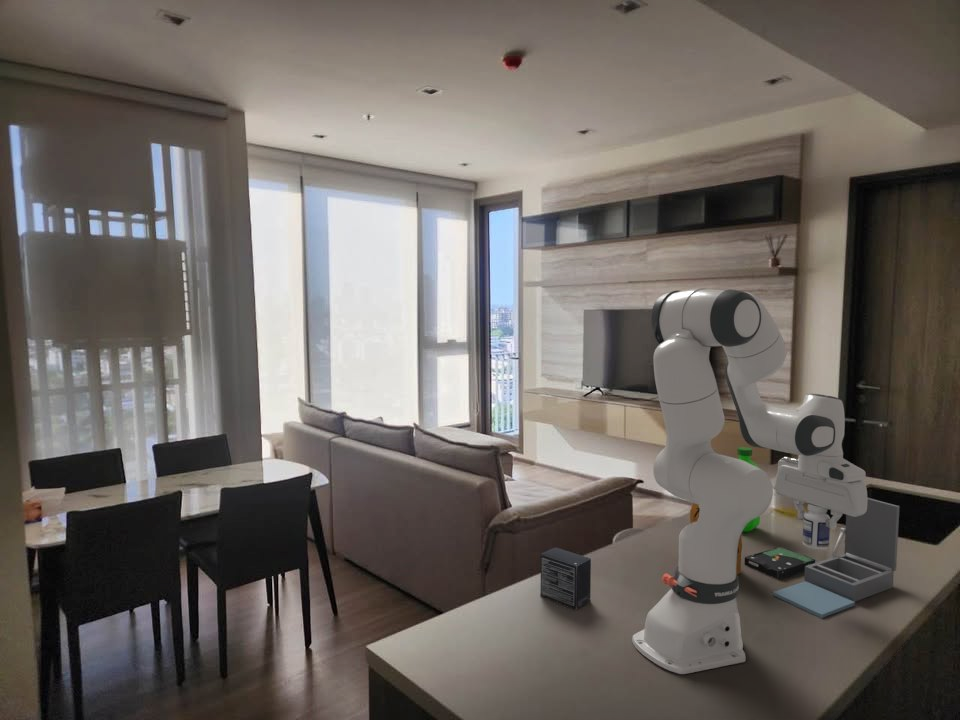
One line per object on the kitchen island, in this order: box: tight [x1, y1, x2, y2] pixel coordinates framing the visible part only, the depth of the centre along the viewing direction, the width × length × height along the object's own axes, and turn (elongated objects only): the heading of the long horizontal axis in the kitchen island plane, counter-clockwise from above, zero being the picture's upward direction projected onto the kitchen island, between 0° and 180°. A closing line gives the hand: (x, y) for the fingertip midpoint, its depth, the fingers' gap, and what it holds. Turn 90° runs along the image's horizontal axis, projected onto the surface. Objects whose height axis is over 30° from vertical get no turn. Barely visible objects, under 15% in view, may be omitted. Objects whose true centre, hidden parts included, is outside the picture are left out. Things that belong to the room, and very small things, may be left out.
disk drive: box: [744, 547, 816, 580], centre depth 159 cm, size 10×3×15 cm
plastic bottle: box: [736, 446, 761, 533], centre depth 185 cm, size 10×10×25 cm
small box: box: [539, 547, 592, 611], centre depth 142 cm, size 11×6×10 cm, turn 47°
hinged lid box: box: [803, 497, 900, 603], centre depth 148 cm, size 17×13×20 cm
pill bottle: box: [801, 503, 831, 551], centre depth 139 cm, size 5×5×10 cm
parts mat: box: [772, 581, 856, 619], centre depth 141 cm, size 12×12×1 cm
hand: (816, 523), depth 139 cm, fingers closed on pill bottle, 5 cm apart
